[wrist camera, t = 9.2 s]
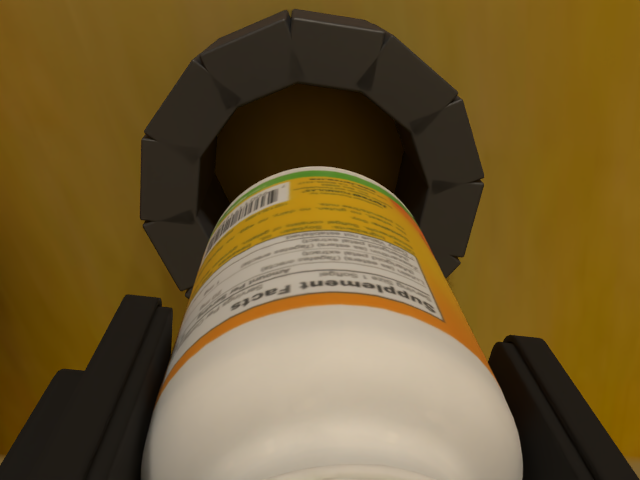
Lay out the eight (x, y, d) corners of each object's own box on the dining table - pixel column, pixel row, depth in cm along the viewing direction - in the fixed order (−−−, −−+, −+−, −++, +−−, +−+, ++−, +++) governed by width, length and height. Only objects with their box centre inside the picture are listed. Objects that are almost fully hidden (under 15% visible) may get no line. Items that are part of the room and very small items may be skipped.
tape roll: (164, 267, 24) (137, 326, 20) (175, -11, 20) (144, -7, 16) (413, 294, 25) (436, 356, 21) (477, 37, 21) (522, 52, 17)
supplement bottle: (397, 364, 16) (529, 863, 7) (198, 341, 15) (64, 852, 6) (447, 178, 13) (738, 560, 5) (218, 143, 13) (52, 502, 4)
